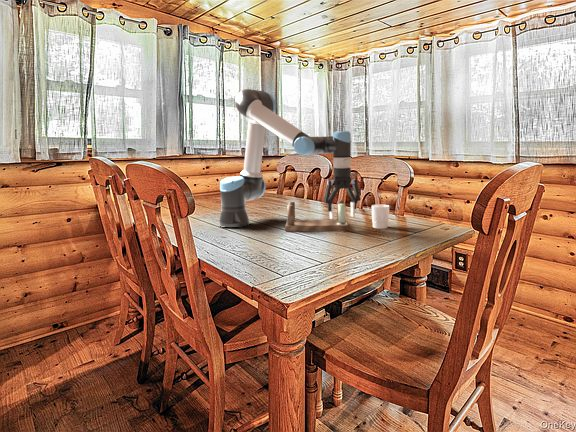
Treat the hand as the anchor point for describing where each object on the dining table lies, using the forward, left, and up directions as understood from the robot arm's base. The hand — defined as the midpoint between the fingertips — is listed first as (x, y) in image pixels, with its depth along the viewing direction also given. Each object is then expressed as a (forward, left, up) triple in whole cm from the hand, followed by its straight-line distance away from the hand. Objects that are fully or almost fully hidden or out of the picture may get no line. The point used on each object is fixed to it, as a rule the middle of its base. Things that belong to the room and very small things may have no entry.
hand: (342, 217), depth 170 cm
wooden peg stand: (-12, -1, -6) cm, 14 cm away
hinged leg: (-1, +2, -3) cm, 4 cm away
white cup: (+14, +11, -6) cm, 19 cm away
